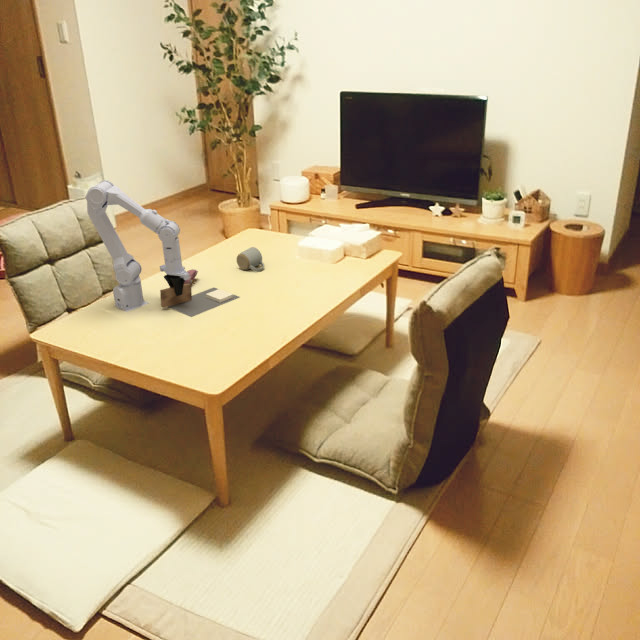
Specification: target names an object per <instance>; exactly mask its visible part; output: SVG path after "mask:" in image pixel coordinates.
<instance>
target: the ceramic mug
mask: <svg viewBox="0 0 640 640" xmlns="http://www.w3.org/2000/svg"><path fill="white" fill-rule="evenodd" d="M236 263H237V264H236V265H237V266H238V267H239V269H241V270H243V271H248V270H252V271H254V272H262V271H263V270H264V268H265V264H264V262H263V256H262V252H260V250H259V249H258V248H257V247H254V246H251V247H250V248H247V249H246V250H244V251H241V252H240V253H239V254H238V255H237V256H236ZM257 266H261V267H260V268H259V267H258V268H257ZM261 270H262V271H261Z"/></svg>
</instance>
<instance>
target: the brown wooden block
mask: <svg viewBox="0 0 640 640" xmlns="http://www.w3.org/2000/svg"><path fill="white" fill-rule="evenodd" d="M159 292H160V293H159V294H160V307H161V308H166V307H167V308H169V307H168V306H171V305H175V304H179V303H183V302H187V301H190V300H192V295H193V294H192V284H191V283H190V284H189V283H187V284H184V286H183V292H182V295H179V296H176V293H175V289H174V287H171V288H170V287H166V288H163V289H160V290H159Z"/></svg>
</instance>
